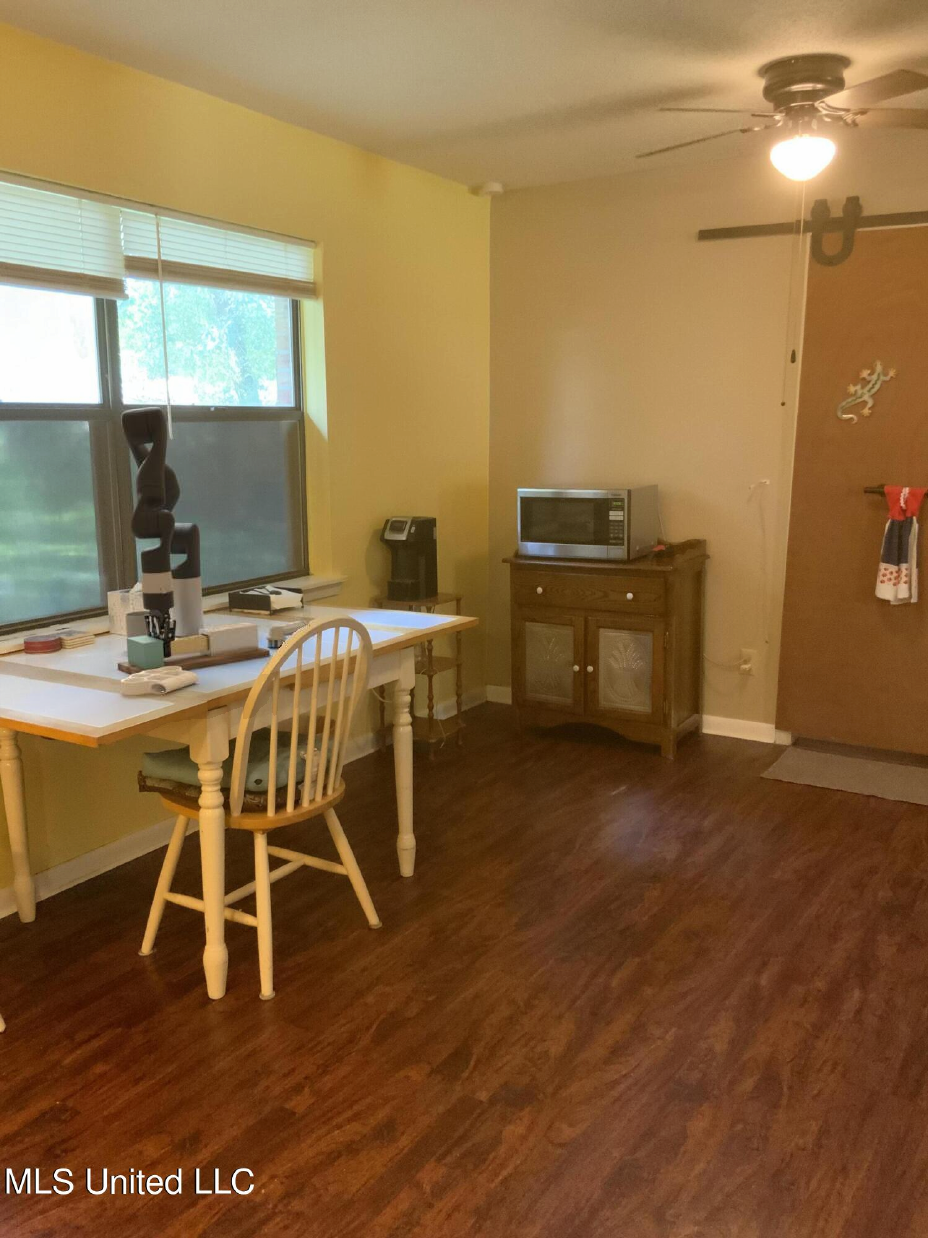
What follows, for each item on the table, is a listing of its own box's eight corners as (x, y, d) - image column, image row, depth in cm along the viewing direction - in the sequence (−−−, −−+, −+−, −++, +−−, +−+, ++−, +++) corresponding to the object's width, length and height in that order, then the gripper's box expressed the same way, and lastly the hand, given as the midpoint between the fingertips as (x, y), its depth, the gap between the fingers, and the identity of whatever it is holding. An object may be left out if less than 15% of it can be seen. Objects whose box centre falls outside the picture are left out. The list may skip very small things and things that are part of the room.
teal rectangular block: (128, 663, 262) (126, 638, 261) (147, 660, 265) (145, 635, 264) (145, 669, 254) (143, 643, 253) (164, 666, 258) (162, 640, 257)
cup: (154, 651, 283) (151, 615, 282) (124, 652, 283) (121, 616, 282) (162, 645, 292) (160, 610, 290) (133, 646, 292) (131, 611, 290)
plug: (138, 657, 260) (137, 643, 260) (217, 645, 275) (216, 631, 274) (145, 660, 257) (144, 645, 257) (224, 647, 272) (223, 633, 271)
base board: (117, 668, 262) (117, 663, 262) (243, 648, 286) (243, 642, 285) (141, 677, 252) (141, 671, 252) (269, 655, 275) (269, 650, 275)
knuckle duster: (157, 699, 232) (106, 694, 238) (207, 682, 248) (159, 677, 254) (156, 685, 231) (105, 680, 237) (206, 668, 247) (158, 664, 253)
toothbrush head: (311, 619, 308) (281, 623, 283) (311, 642, 308) (281, 647, 284) (295, 619, 309) (263, 622, 284) (295, 641, 309) (263, 646, 285)
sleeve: (200, 653, 273) (198, 629, 272) (247, 645, 282) (246, 622, 281) (211, 656, 268) (209, 631, 267) (258, 648, 277) (257, 624, 276)
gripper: (131, 588, 262) (136, 654, 265) (156, 594, 252) (161, 662, 255) (159, 585, 267) (164, 650, 270) (184, 590, 257) (189, 658, 260)
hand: (162, 655), depth 262 cm, fingers closed on plug, 3 cm apart
